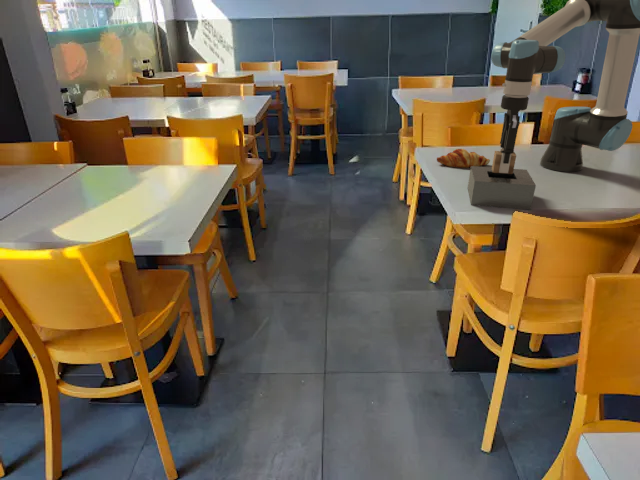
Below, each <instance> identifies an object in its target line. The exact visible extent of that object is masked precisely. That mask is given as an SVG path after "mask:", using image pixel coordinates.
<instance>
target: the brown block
mask: <svg viewBox="0 0 640 480" xmlns="http://www.w3.org/2000/svg"><path fill="white" fill-rule="evenodd" d="M501 157H502V153H501V151H500V150H494V154H493V159H492V165H491V167H492V171H493V173H499V168H500V163H501ZM516 158H517V154H516V153H515V151H514V152H513V153H512V155H511V160H510V165H509V171H508V173H505V174H513V170H514V169H515V165H516Z"/></svg>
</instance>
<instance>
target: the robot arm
mask: <svg viewBox="0 0 640 480" xmlns="http://www.w3.org/2000/svg"><path fill="white" fill-rule="evenodd" d="M598 21H599V22H601V21H602V22H606V23H605V30H606V32H608V33H609V34H608V35H609V36H608V39H607V45H606V51H605V55H604V56H605V57H604V61H603V67H602V70H601V71H602V72H601V78H600V83H599V89H598V93H597V99H596V103H595V106H594V107H592V108H591V107H590V106H589V107H588V106H564V107H560V108H558V109H557V110H556V113H555V116H554V118H553V124H552V128H551V129H552V130H551V134H550V139H549V144H548V145H547V147H546V150H545V151H544V153H543V154H542V156H541V159H540V162H539V164H540V166H541V167H543V168H546V169H548V170H551V171H556V172H566V173H568V172H569V173H572V172H579V171H581V170H583V169H582V168H583V165H584V160H583V151H582V148H583V146H587V147H591V148H595V149H599V150H601V151H603V150H604V151H608V152H614V151H616V150H619V149H620V148H621V147H623V145H624V144H625V143H626V142H627V140H628V139H629V138H630V135H631V133H632V130H633V121H631V119H629V118H627V117H628V114H629V112H628V110H627V109H626V108H625V103H626V99H627V94H628V90H629V85H630V81H631V75H632V71H633V66H634V61H635V57H636V53H637V52H636V51H637V48H638V44H639V39H640V0H568V1H566V4H565V5H564V6H563V7H562V8H560V9H559V10H558V11H555V13H553V14H552V15H550V16H548V17H546V19H543V20H542V21H540V22H539V23H538V24H536V25H535V26H533V27H531V28H530V29H529V30H527V31H526V32H524V33H523V34H521V35H520V36H518V37H517V38H515V39H514V40H512V41H510V42H500V43H497V44H496V45H495V46H494V47H493V49H492V51H491V56H490V57H491V63H492V64H493V66H495V67H498V68H502V69H506V75H505V80H504V83H502V86H501V87H503V92H502V93H503V94H504V95H502V96H501V102H500V107H501V109H503V110H506V112H505V113H504V114H503V116H504V117H503V123H502V131H501V135H500V141H499V144H500V146H499V147H500V148H499V149H500V150H499V151H501V153H502V157H501V163H500V168H499V173H508V171H509V165H510V160H511V155H512V153H513V152H515V145H516V140H517V137H518V136H517V135H518V132H519V131H518V130H519V126H520V123H521V122H520V118H521V116H520V115H519V112H520V111H526V110H527V109H528V104H529V100H530V98H529V96H530V94H531V90H532V85H533V77H534V74H545V73H546V74H550V73H554V72H557V71H559V70H561V68H563V66H564V64H565V61H566V52H565V50H564V49H563V48H562V47H561V46H557V45H550V44H552V43H554V42H555V41H557V40H558V39H559V38H561V37H562V36H564V35H566V34H567V33H568V32H570V31H571V30H572V29H574V28H576V27H581V26H585V24H587V23H590V22H598Z"/></svg>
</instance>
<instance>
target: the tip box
mask: <svg viewBox="0 0 640 480" xmlns="http://www.w3.org/2000/svg"><path fill="white" fill-rule="evenodd" d="M469 170H470V171H469V175H468V176H469V177H468V183H467V192H468V197H469V202H470V205H471V206H478V205H480V206H481V207H491V206H493V208H504V209H505V208H506V209H508V208H509V209H516V210H517V209H518V210H528V211H529V210H531V209H532V205H533V200H534V196H535V191H536V187H537V185H536V183H535V182H534V179H533V177H531V174H530V173H529V171H528V169H520V168H514V170H513V174H505V173H493V171H492V166H491V167H490V166H489V167H488V166H471V167H470V169H469Z"/></svg>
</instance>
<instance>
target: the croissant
mask: <svg viewBox="0 0 640 480" xmlns="http://www.w3.org/2000/svg"><path fill="white" fill-rule="evenodd" d="M436 162H437V163H439V164H441V165H444V166H446V167H451V168H460V169H461V168H463V169H465V168H466V169H467V168H468V169H469V167H470V168H471V166H477V167H482V166H486V165H489V163H490V162H491V160H490V159H489V158H487V157H486V156H484V155H480V154H478V153H477V152H475V151H468V150H467V149H464V148H456V149H454V150H453V151H452V152H449V153H447V154H446V155H443V154H442V155H441V156H439V157H436Z"/></svg>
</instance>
